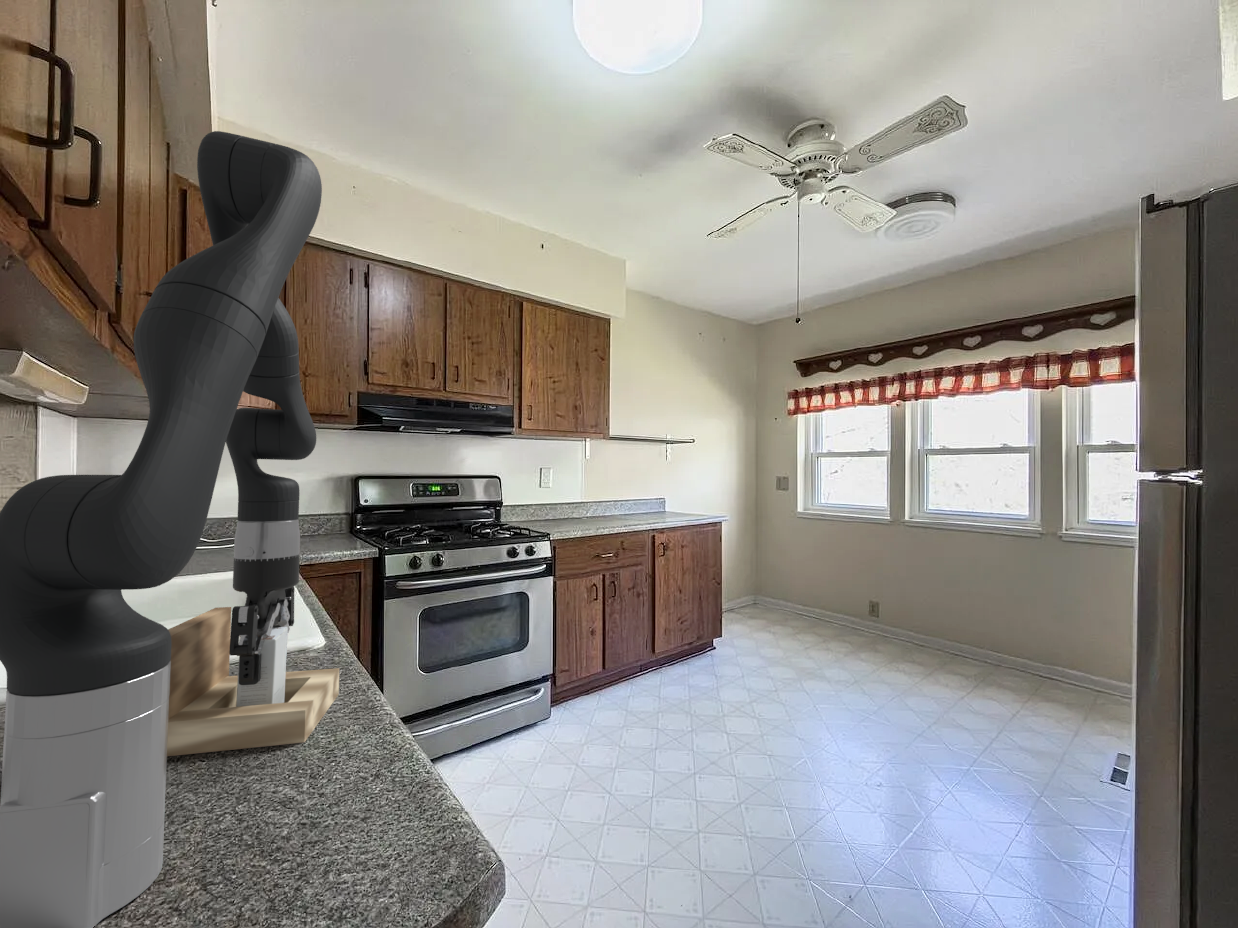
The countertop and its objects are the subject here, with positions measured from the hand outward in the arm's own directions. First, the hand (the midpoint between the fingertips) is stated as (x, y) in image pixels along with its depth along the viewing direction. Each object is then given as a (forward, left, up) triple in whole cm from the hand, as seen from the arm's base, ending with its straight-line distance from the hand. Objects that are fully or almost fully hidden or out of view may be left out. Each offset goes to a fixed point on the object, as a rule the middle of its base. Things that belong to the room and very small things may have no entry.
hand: (263, 672), depth 70 cm
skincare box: (0, 0, -7) cm, 7 cm away
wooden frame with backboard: (0, 0, -7) cm, 7 cm away
